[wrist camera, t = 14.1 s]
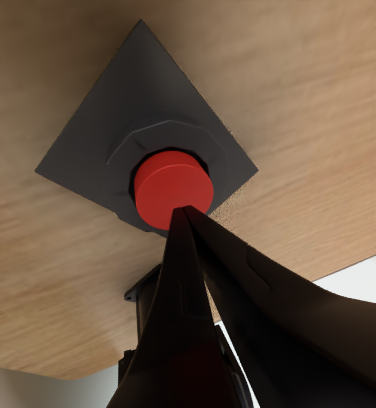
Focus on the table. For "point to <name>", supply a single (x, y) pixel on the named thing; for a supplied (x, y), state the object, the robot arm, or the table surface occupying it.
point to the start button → (170, 187)
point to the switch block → (141, 132)
